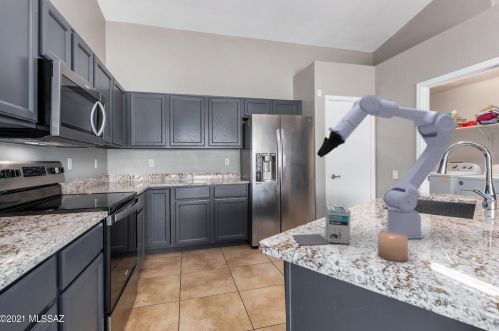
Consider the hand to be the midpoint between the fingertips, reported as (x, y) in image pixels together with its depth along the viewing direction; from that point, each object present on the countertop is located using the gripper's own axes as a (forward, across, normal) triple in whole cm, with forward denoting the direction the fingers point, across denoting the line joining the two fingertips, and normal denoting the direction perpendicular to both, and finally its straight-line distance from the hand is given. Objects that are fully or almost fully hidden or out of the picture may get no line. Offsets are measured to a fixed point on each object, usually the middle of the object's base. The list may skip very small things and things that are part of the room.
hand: (321, 154), depth 84 cm
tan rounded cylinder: (+12, +13, +32) cm, 37 cm away
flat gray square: (+24, 0, +16) cm, 29 cm away
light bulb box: (+18, -1, +23) cm, 29 cm away
